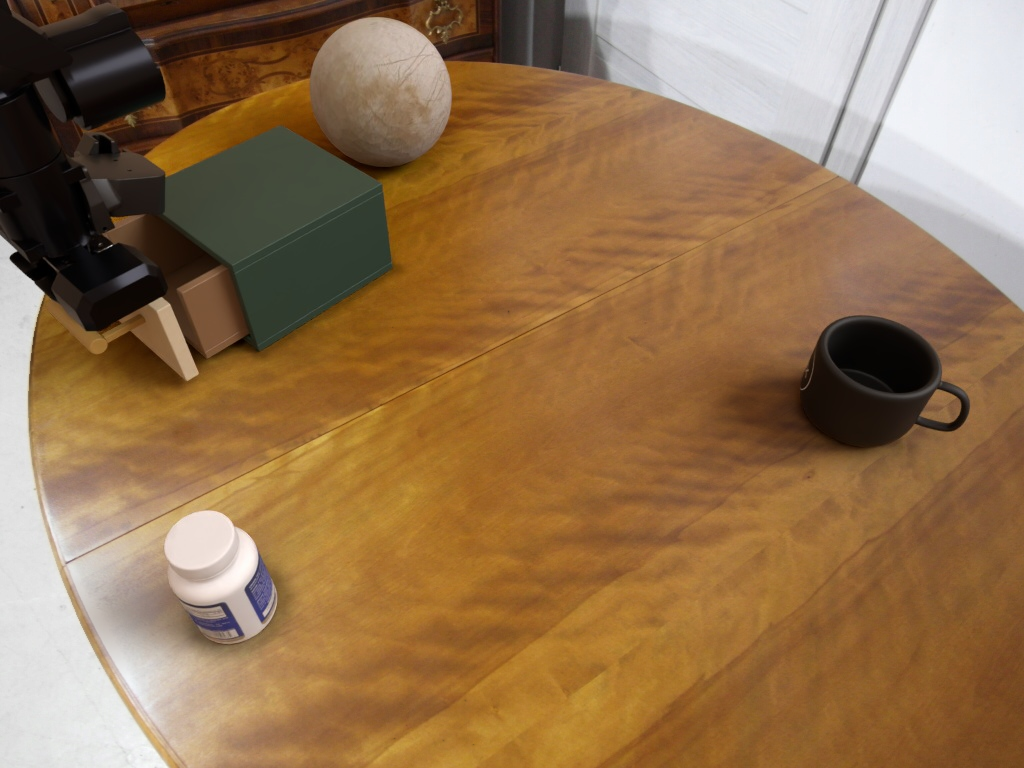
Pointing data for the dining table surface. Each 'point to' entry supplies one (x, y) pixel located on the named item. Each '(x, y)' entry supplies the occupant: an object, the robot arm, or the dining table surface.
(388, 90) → the decorative sphere
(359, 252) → the cabinet
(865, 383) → the mug
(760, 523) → the dining table surface
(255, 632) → the pill bottle
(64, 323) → the drawer
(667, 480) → the dining table surface
